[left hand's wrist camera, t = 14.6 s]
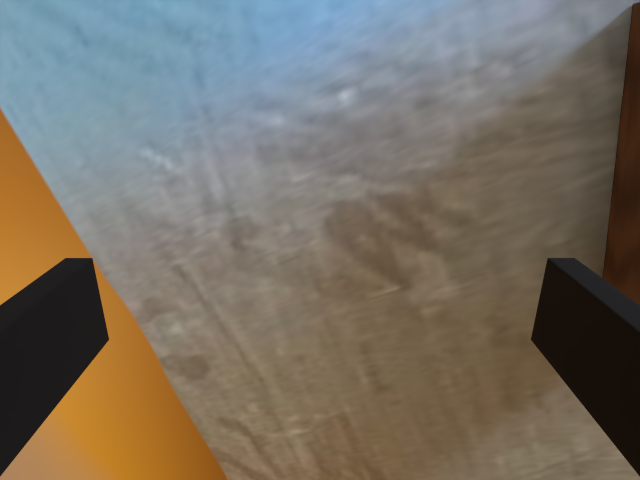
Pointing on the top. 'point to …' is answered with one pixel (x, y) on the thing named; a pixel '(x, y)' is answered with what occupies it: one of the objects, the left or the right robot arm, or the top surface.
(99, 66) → the top surface
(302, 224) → the top surface
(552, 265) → the left robot arm
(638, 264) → the box
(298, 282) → the top surface
